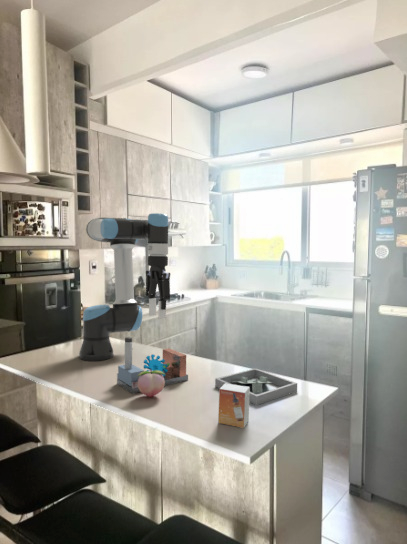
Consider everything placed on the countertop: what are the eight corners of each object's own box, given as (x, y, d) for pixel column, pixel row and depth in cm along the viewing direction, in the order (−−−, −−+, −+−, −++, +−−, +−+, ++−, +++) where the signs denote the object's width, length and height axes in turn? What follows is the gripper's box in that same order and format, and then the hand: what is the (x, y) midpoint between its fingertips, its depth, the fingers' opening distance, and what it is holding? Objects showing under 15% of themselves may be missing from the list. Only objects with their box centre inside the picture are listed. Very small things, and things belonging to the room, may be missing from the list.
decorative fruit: (160, 390, 140) (161, 363, 140) (166, 399, 133) (167, 370, 132) (134, 393, 137) (134, 365, 136) (139, 402, 129) (139, 373, 129)
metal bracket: (278, 377, 141) (236, 378, 139) (279, 394, 140) (237, 395, 138) (267, 375, 155) (229, 376, 153) (268, 391, 154) (230, 391, 152)
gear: (148, 377, 143) (142, 353, 149) (141, 385, 147) (135, 361, 153) (174, 376, 150) (167, 353, 155) (167, 383, 153) (160, 361, 159)
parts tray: (215, 386, 146) (215, 378, 145) (254, 375, 159) (255, 368, 158) (256, 405, 129) (256, 396, 129) (297, 391, 142) (297, 383, 142)
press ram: (118, 378, 145) (118, 335, 144) (130, 376, 149) (130, 334, 147) (131, 386, 138) (131, 341, 137) (143, 383, 141) (144, 339, 140)
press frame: (116, 383, 146) (117, 357, 146) (170, 371, 161) (170, 347, 161) (132, 393, 137) (132, 365, 136) (188, 380, 152) (188, 354, 151)
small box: (217, 423, 115) (218, 388, 115) (223, 416, 121) (224, 382, 120) (244, 428, 113) (245, 392, 112) (249, 420, 118) (250, 386, 117)
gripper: (136, 254, 152) (135, 313, 153) (163, 256, 137) (162, 321, 139) (153, 254, 157) (152, 312, 158) (180, 256, 142) (179, 319, 143)
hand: (157, 316), depth 148 cm, fingers open, 6 cm apart
